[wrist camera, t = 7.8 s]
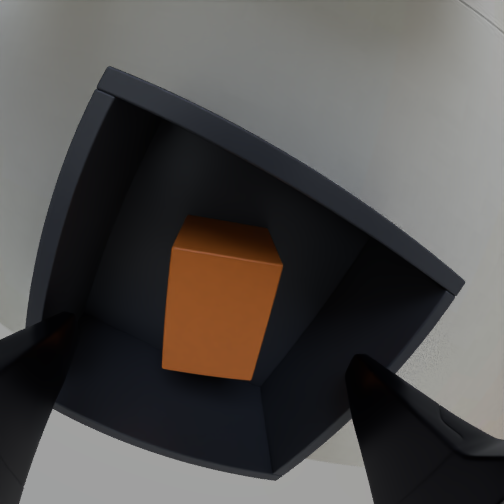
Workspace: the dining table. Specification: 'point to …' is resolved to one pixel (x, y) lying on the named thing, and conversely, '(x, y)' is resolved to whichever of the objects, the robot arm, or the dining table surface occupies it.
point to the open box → (157, 270)
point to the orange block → (219, 297)
